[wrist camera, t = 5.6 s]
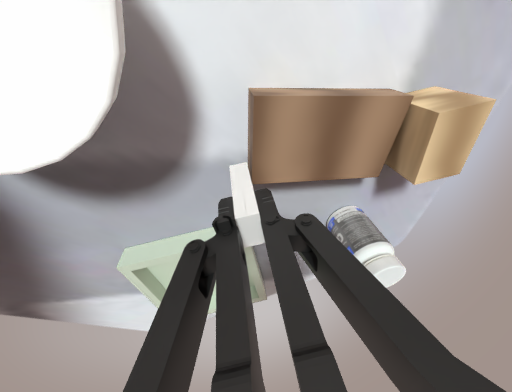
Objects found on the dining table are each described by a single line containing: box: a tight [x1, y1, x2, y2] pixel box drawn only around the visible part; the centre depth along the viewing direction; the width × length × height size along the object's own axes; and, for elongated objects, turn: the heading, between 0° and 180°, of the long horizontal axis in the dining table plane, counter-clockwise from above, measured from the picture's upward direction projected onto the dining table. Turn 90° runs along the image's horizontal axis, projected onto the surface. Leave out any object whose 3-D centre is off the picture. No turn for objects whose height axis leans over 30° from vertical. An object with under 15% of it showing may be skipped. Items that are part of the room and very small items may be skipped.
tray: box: [116, 227, 267, 314], centre depth 27 cm, size 14×14×3 cm
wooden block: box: [385, 86, 496, 185], centre depth 18 cm, size 4×6×5 cm, turn 10°
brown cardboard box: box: [248, 88, 414, 184], centre depth 18 cm, size 12×7×3 cm, turn 89°
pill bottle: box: [327, 206, 406, 288], centre depth 23 cm, size 5×5×8 cm
